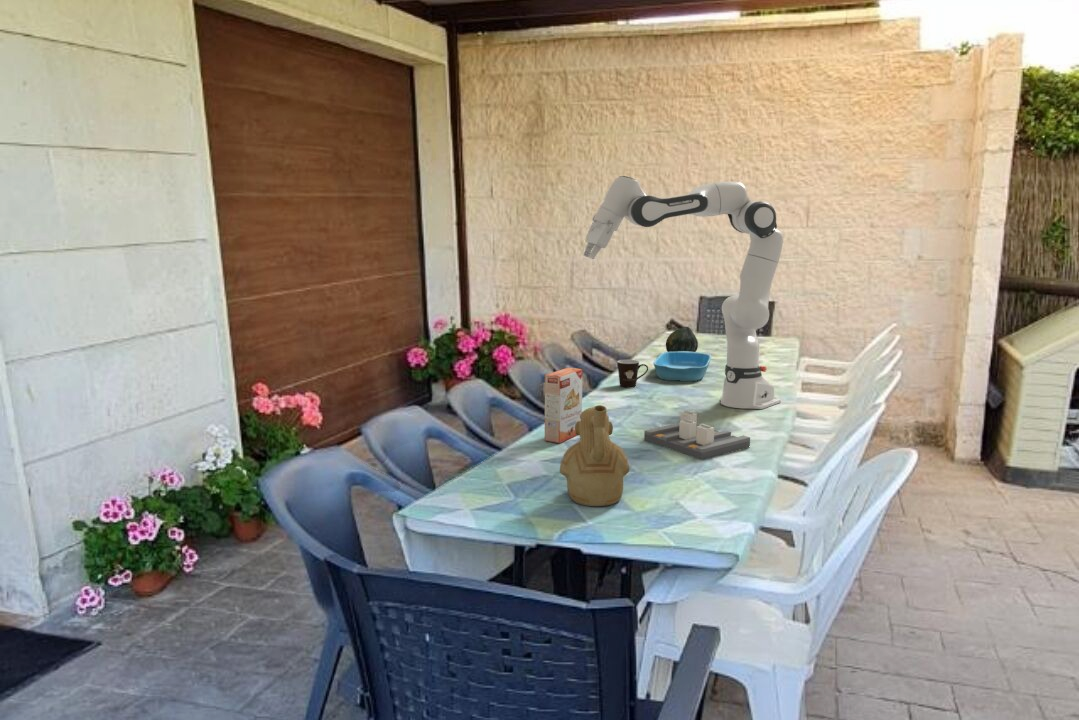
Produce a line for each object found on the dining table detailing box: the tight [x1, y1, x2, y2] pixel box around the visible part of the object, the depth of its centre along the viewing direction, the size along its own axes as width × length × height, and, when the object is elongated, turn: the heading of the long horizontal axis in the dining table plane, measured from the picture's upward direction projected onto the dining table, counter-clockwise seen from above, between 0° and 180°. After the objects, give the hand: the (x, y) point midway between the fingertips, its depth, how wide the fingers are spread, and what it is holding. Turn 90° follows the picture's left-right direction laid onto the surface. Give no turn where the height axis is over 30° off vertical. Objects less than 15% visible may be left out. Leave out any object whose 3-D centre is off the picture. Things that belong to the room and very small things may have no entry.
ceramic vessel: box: [559, 404, 631, 507], centre depth 190 cm, size 17×20×25 cm
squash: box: [665, 326, 699, 352], centre depth 378 cm, size 14×15×15 cm
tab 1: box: [679, 410, 698, 424], centre depth 243 cm, size 3×4×6 cm
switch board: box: [643, 422, 751, 461], centre depth 236 cm, size 20×24×3 cm
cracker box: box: [544, 367, 584, 444], centre depth 242 cm, size 14×6×21 cm, turn 148°
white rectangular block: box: [679, 419, 698, 440], centre depth 233 cm, size 3×4×6 cm
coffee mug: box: [616, 359, 649, 389], centre depth 313 cm, size 12×9×10 cm
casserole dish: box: [652, 351, 712, 382], centre depth 336 cm, size 37×22×7 cm, turn 163°
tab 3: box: [696, 423, 715, 445], centre depth 228 cm, size 3×4×6 cm
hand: (588, 257), depth 267 cm, fingers open, 8 cm apart
